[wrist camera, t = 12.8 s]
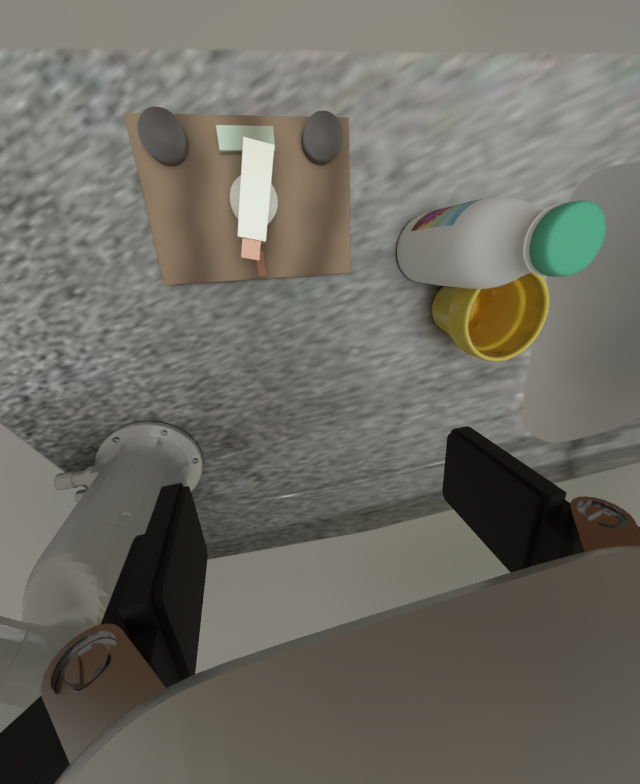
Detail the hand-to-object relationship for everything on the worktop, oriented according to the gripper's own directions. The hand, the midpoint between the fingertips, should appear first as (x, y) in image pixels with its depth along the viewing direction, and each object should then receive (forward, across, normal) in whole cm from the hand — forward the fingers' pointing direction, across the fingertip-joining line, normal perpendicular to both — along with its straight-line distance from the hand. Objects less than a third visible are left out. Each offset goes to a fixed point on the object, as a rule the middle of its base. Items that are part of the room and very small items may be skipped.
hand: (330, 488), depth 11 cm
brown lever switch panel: (+30, -1, -13) cm, 33 cm away
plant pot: (+30, -25, -1) cm, 39 cm away
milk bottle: (+30, -20, -8) cm, 37 cm away
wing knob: (+28, 0, -13) cm, 31 cm away
